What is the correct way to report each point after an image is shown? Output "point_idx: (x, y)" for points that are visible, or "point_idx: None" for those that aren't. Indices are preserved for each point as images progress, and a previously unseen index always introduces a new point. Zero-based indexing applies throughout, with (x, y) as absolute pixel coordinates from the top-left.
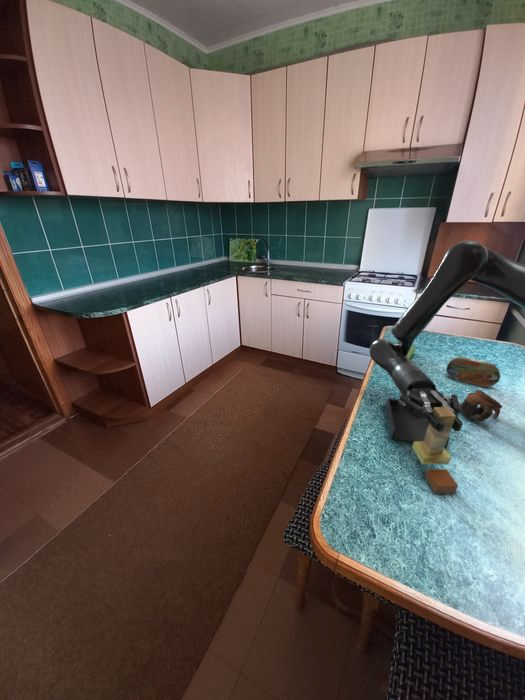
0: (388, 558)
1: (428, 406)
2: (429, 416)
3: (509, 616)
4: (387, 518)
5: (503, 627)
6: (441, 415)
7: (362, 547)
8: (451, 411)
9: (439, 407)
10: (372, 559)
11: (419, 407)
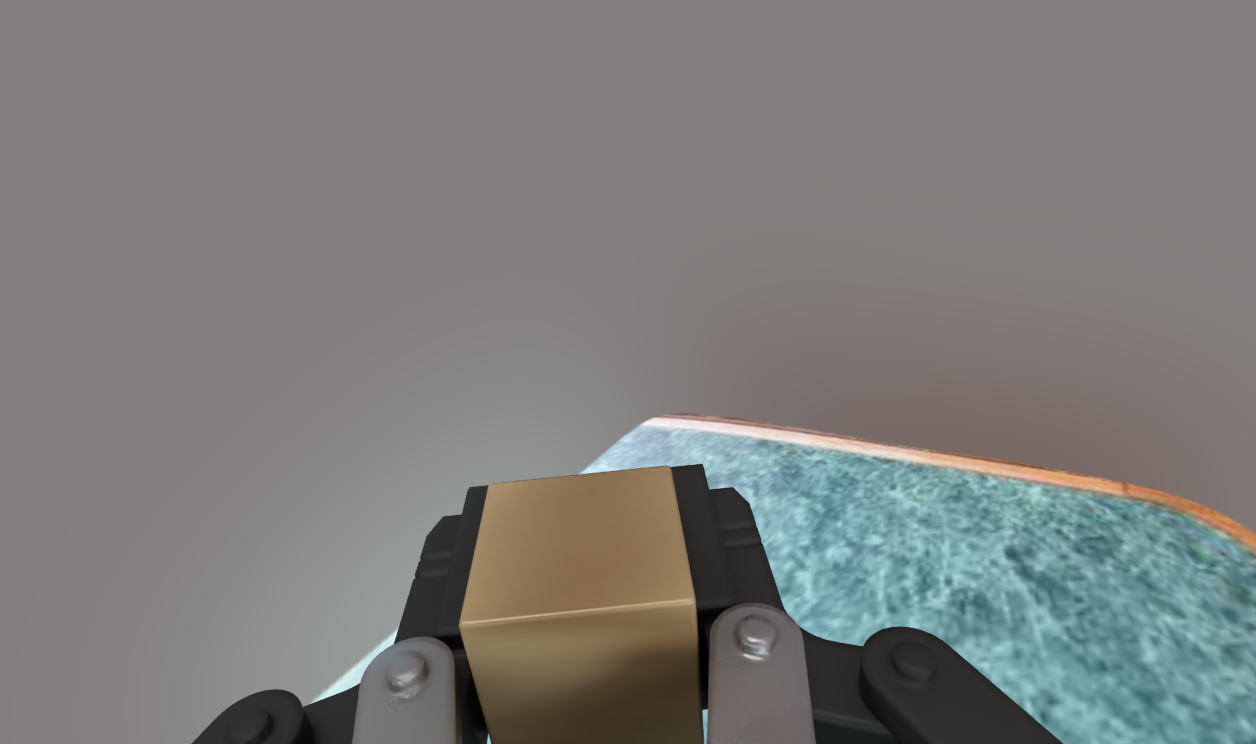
0: (945, 501)
1: (747, 732)
2: (775, 594)
3: (636, 443)
4: (963, 619)
5: (664, 429)
6: (666, 473)
7: (1046, 517)
8: (484, 539)
9: (608, 603)
10: (1000, 494)
11: (926, 675)
